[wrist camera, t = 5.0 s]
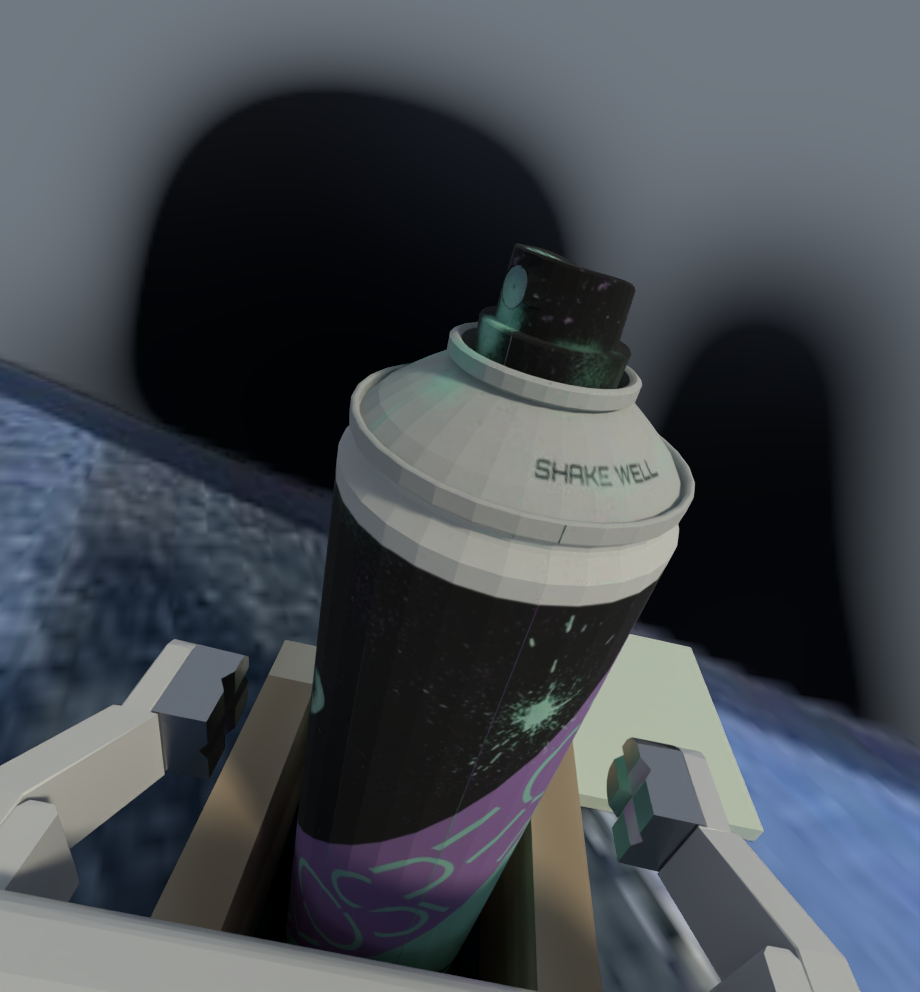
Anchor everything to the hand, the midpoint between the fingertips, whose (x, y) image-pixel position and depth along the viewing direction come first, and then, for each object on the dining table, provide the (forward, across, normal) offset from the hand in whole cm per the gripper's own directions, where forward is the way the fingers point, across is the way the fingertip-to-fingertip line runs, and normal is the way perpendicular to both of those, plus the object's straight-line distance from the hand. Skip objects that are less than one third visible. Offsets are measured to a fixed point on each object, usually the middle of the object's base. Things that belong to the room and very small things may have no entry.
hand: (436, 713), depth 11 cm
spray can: (0, 0, +11) cm, 11 cm away
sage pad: (+10, -10, +11) cm, 18 cm away
